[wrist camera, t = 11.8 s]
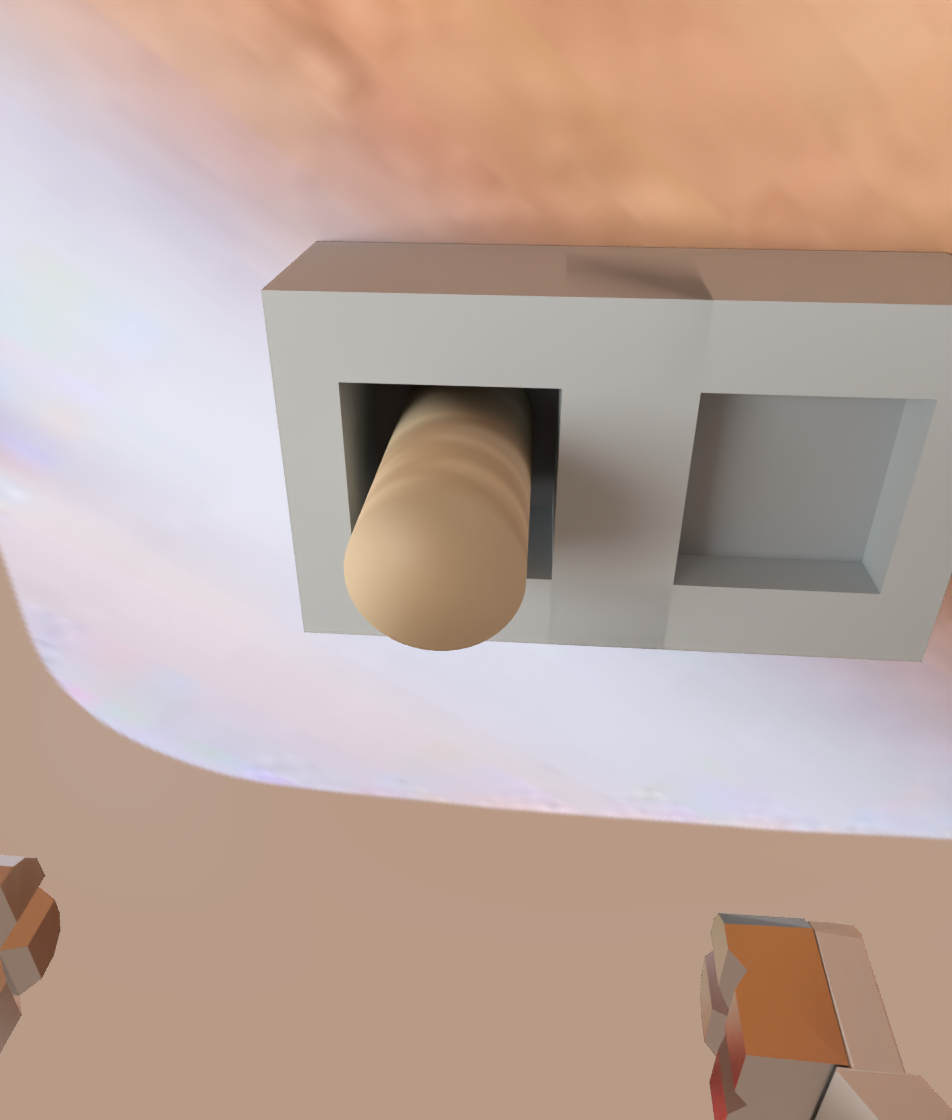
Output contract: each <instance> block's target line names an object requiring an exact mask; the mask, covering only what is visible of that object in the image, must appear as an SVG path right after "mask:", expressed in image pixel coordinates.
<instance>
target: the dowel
mask: <svg viewBox="0 0 952 1120" xmlns="http://www.w3.org/2000/svg"><path fill="white" fill-rule="evenodd" d="M533 433H534V416H533V410H532V407H531V403H530V401H529V398H528V396H527V394H526V393H525V391H524V389H523V388H519V387H484V386H449V385H414V386H413V388H412V389H411V391H410V393H409V395H408V397H407V400H406V402H405V404H404V407H403V409H402V412H401V414H400V417H399V419H398V422H397V424H396V427H395V429H394V431H393V434H392V436H391V439H390V441H389V444H388V446H387V449H386V451H385V454H384V456H383V459H382V461H381V463H380V466H379V468H378V471H377V473H376V476H375V478H374V481H373V483H372V486H371V488H370V490H369V493H368V495H367V498H366V500H365V503H364V505H363V508H362V510H361V513H360V515H359V517H358V520H357V522H356V525H355V527H354V530H353V532H352V535H351V537H350V540H349V542H348V545H347V548H346V551H345V557H344V577H345V583H346V586H347V590H348V593H349V595H350V597H351V599H352V601H353V603H354V605H355V606H356V608H357V609H358V611H359V612H360V613H361V614H362V616H363V617H364V618H365V619H366V620H367V621H368V622H369V623H370V624H371V625H372V626H373V627H375V628H376V629H377V630H379V631H380V632H381V633H383V634H384V635H386V636H388V637H390V638H391V639H393V640H396V641H398V642H400V643H402V644H405V645H408V646H411V647H415V648H420V649H425V650H434V651H449V650H458V649H463V648H467V647H471V646H474V645H477V644H480V643H482V642H484V641H486V640H488V639H490V638H491V637H493V636H494V635H496V634H497V633H499V632H500V631H501V630H502V629H503V628H504V627H506V626H507V624H508V623H509V622H510V621H511V620H512V619H513V617H514V616H515V614H516V613H517V611H518V609H519V607H520V605H521V603H522V600H523V597H524V593H525V588H526V578H527V557H528V536H529V516H530V495H531V474H532V453H533Z"/></svg>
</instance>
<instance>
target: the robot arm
mask: <svg viewBox="0 0 952 1120" xmlns="http://www.w3.org/2000/svg"><path fill="white" fill-rule="evenodd" d="M44 877H45V874H44V872H43V870H42V868H41V866H40V864H39V862H38V860H37V858H31V857H21V856H12V855H2V854H0V1052H1V1051H2V1049H3V1047H4V1045H5V1044H6V1042H7V1040H8V1038H9V1036H10V1035H11V1033H12V1031H13V1029H14V1027H15V1026H16V1024H17V1022H18V1020H19V1019H20V1017H21V1006H20V998H19V995H20V994H22V993H23V992H24V991H26V990H27V989H28V988H30V987H31V986H32V985H34V984H35V983H36V982H38V981H39V980H40V979H42V977H43V975H44V973H45V971H46V969H47V967H48V966H49V963H50V961H51V960H52V958H53V956H54V953H55V949H56V945H57V941H58V937H59V933H60V912H59V910H58V907H57V904H56V902H55V900H54V899H53V898H52V897H51V896H50V895H48V894H47V893H46V892H44V891H43V890H42V889H41V888H39V885H40V883H41V882H42V880H43V878H44ZM711 938H712V945H713V951H712V952H710V953H709V954H707V955H706V956H705V959H704V964H703V969H702V974H701V976H702V977H701V994H700V1001H701V1018H702V1025H703V1026H702V1027H703V1035H704V1042H705V1043H706V1044H707V1046H708V1047H709V1048H710V1049H711V1051H712V1052H713V1053H714V1054H715V1056H716V1059H715V1063H714V1067H713V1071H712V1074H711V1078H710V1090H711V1097H712V1104H713V1112H714V1119H715V1120H952V1109H951V1108H950V1107H949V1106H948V1105H947V1104H946V1103H945V1101H944V1100H943V1099H942V1098H941V1097H940V1096H939V1095H938V1094H937V1093H936V1092H935V1091H934V1090H933V1089H932V1087H931V1086H930V1085H929V1084H928V1083H927V1082H926V1081H925V1080H924V1079H923V1078H922V1077H921V1076H920V1075H915V1074H908V1073H905V1069H904V1066H903V1063H902V1060H901V1057H900V1054H899V1051H898V1048H897V1044H896V1041H895V1038H894V1035H893V1032H892V1029H891V1026H890V1023H889V1020H888V1016H887V1013H886V1010H885V1007H884V1004H883V1001H882V998H881V995H880V991H879V988H878V985H877V982H876V979H875V976H874V973H873V970H872V967H871V964H870V960H869V957H868V954H867V951H866V948H865V945H864V942H863V939H862V936H861V933H860V932H859V931H858V929H857V928H856V927H855V926H854V925H853V924H849V923H836V922H819V921H805V920H804V919H798V918H783V917H769V916H754V915H738V914H724V913H723V914H722V913H718V914H717V916H716V917H715V918H714V921H713V925H712V929H711Z"/></svg>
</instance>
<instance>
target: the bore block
mask: <svg viewBox="0 0 952 1120" xmlns="http://www.w3.org/2000/svg"><path fill="white" fill-rule="evenodd" d="M261 292H262V300H263V308H264V316H265V324H266V332H267V340H268V348H269V356H270V364H271V372H272V379H273V387H274V395H275V403H276V411H277V419H278V427H279V435H280V443H281V451H282V459H283V467H284V475H285V483H286V491H287V499H288V507H289V515H290V523H291V531H292V538H293V546H294V554H295V562H296V570H297V578H298V586H299V594H300V602H301V610H302V618H303V626H304V632H310V633H331V634H352V635H372V636H386V635H384V634H383V633H381V632H380V631H379V630H377V629H376V628H375V627H373V626H372V625H371V624H370V623H369V622H368V621H367V620H366V619H365V618H364V617H363V616H362V614H361V613H360V612H359V611H358V609H357V608H356V606H355V605H354V603H353V601H352V599H351V597H350V595H349V593H348V590H347V586H346V583H345V577H344V557H345V551H346V548H347V545H348V542H349V540H350V537H351V535H352V532H353V530H354V527H355V525H356V522H357V520H358V517H359V515H360V513H361V510H362V508H363V505H364V503H365V500H366V498H367V495H368V493H369V490H370V488H371V486H372V483H373V481H374V478H375V476H376V473H377V471H378V468H379V466H380V463H381V461H382V459H383V456H384V454H385V451H386V449H387V446H388V444H389V441H390V439H391V436H392V434H393V431H394V429H395V427H396V424H397V422H398V419H399V417H400V414H401V412H402V409H403V407H404V404H405V402H406V400H407V397H408V395H409V393H410V391H411V389H412V388H413V386H414V385H449V386H484V387H519V388H523V389H524V391H525V393H526V394H527V396H528V398H529V401H530V403H531V407H532V410H533V416H534V433H533V453H532V474H531V495H530V516H529V536H528V557H527V578H526V588H525V593H524V597H523V600H522V603H521V605H520V607H519V609H518V611H517V613H516V614H515V616H514V617H513V619H512V620H511V621H510V622H509V623H508V624H507V626H506V627H504V628H503V629H502V630H501V631H500V632H499V633H497V634H496V635H494V636H493V637H491V638H490V639H488V640H486V641H497V642H518V643H538V644H559V645H580V646H601V647H621V648H642V649H663V650H683V651H704V652H725V653H746V654H766V655H787V656H808V657H829V658H849V659H870V660H891V661H912V662H922V659H923V657H924V654H925V651H926V648H927V645H928V642H929V639H930V636H931V633H932V630H933V627H934V624H935V621H936V618H937V615H938V613H939V610H940V607H941V604H942V601H943V598H944V595H945V592H946V589H947V586H948V583H949V580H950V577H951V574H952V255H950V254H948V253H933V252H878V251H823V250H768V249H713V248H658V247H603V246H547V245H492V244H437V243H382V242H327V241H316V242H315V243H314V244H313V245H312V246H310V247H309V248H308V249H307V250H306V251H305V252H304V253H303V254H301V255H300V256H299V257H298V258H297V259H296V260H295V261H294V262H292V263H291V264H290V265H289V266H288V267H287V268H286V269H285V270H283V271H282V272H281V273H280V274H279V275H278V276H277V277H275V278H274V279H273V280H272V281H271V282H270V283H269V284H268V285H266V286H265V287H264V288H263V289H262V290H261Z"/></svg>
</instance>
